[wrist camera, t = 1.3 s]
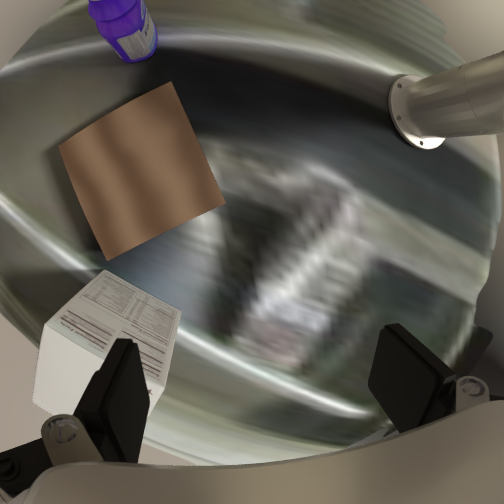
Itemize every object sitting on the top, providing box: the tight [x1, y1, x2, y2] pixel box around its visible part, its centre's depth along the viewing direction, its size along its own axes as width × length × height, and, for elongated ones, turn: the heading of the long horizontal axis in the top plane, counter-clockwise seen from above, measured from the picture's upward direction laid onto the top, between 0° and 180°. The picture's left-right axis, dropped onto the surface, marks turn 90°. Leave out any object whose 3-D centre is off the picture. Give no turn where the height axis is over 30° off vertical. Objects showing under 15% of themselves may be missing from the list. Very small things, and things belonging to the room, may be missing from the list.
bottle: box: [88, 0, 157, 63], centre depth 23 cm, size 7×6×17 cm
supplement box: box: [32, 270, 181, 418], centre depth 32 cm, size 13×13×18 cm
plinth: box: [58, 82, 226, 261], centre depth 33 cm, size 16×16×5 cm
